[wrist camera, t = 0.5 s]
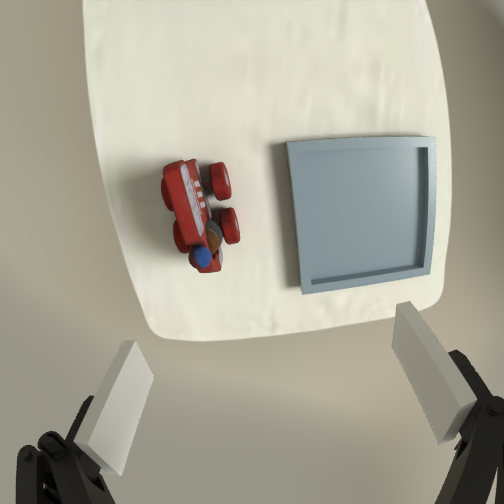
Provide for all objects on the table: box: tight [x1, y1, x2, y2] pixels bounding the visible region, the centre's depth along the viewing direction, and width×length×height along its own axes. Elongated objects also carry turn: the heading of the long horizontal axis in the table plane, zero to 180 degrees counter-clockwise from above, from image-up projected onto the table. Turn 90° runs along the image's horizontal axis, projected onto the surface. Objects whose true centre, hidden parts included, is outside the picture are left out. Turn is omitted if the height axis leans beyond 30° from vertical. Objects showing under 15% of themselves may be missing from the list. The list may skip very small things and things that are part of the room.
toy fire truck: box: [161, 159, 240, 273], centre depth 29 cm, size 7×12×10 cm, turn 11°
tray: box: [286, 136, 436, 295], centre depth 33 cm, size 18×18×2 cm
